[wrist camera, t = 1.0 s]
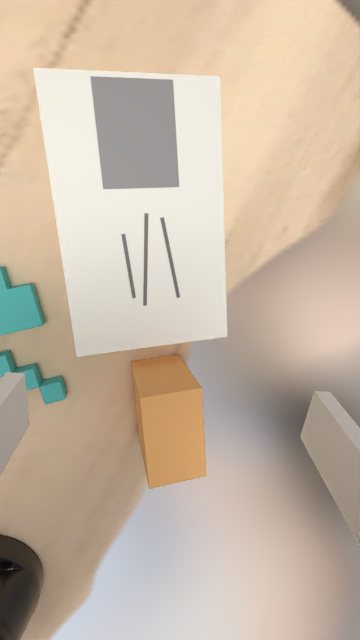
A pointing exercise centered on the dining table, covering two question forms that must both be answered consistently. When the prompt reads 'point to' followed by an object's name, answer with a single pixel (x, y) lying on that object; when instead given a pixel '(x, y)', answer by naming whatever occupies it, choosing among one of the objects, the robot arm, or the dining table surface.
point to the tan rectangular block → (169, 420)
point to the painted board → (137, 205)
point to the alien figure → (19, 314)
